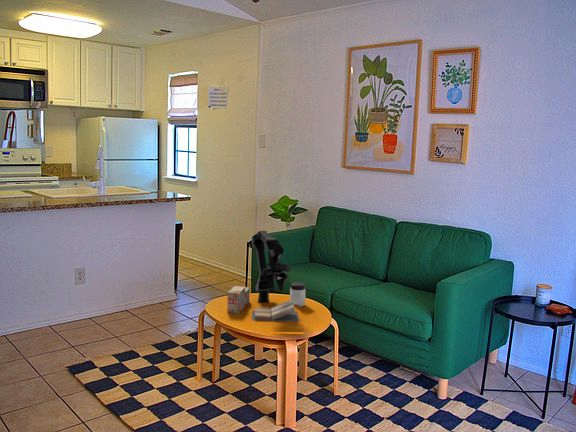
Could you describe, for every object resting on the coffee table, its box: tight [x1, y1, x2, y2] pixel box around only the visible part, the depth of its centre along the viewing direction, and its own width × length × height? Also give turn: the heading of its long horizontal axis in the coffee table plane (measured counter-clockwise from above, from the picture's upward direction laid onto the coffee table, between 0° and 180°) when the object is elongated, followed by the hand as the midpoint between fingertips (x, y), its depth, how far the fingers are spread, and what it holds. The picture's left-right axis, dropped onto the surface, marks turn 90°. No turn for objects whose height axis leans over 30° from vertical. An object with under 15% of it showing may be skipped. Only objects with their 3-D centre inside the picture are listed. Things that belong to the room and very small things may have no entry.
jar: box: [289, 281, 307, 308], centre depth 308 cm, size 9×8×12 cm
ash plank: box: [270, 299, 296, 320], centre depth 285 cm, size 14×12×2 cm
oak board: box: [254, 306, 271, 320], centre depth 285 cm, size 14×8×2 cm, turn 3°
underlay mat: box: [251, 309, 300, 323], centre depth 285 cm, size 16×24×1 cm, turn 93°
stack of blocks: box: [226, 285, 251, 314], centre depth 297 cm, size 21×6×12 cm, turn 169°
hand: (277, 289), depth 286 cm, fingers open, 9 cm apart
